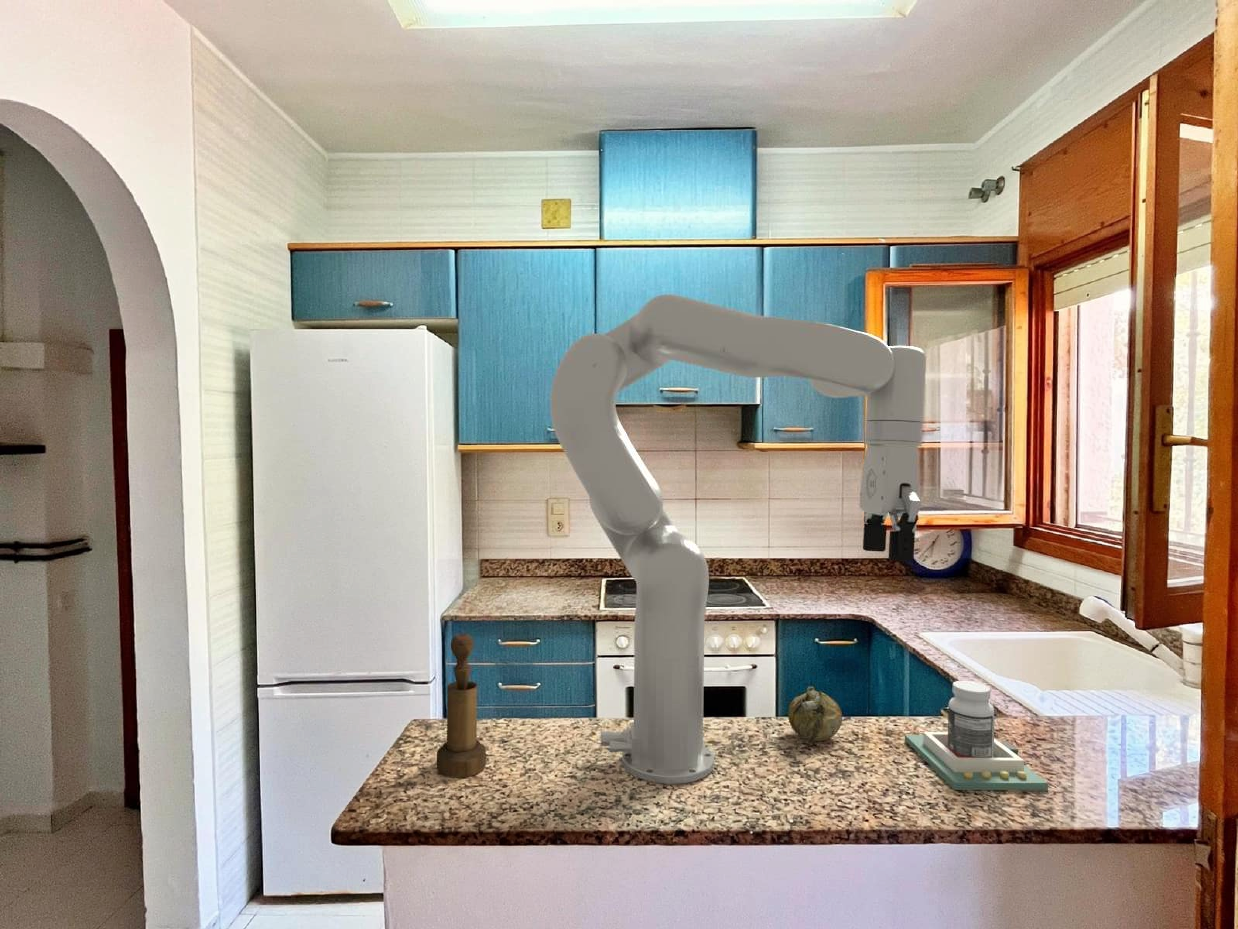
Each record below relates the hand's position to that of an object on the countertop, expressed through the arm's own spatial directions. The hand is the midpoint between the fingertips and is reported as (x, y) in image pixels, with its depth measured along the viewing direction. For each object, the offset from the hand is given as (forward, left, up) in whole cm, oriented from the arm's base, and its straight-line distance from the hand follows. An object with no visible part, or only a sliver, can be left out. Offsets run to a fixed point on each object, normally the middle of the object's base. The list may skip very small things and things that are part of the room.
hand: (886, 555), depth 99 cm
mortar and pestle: (-59, -4, -29) cm, 66 cm away
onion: (-8, +6, -29) cm, 30 cm away
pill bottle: (+11, -3, -28) cm, 30 cm away
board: (+11, -3, -28) cm, 31 cm away
